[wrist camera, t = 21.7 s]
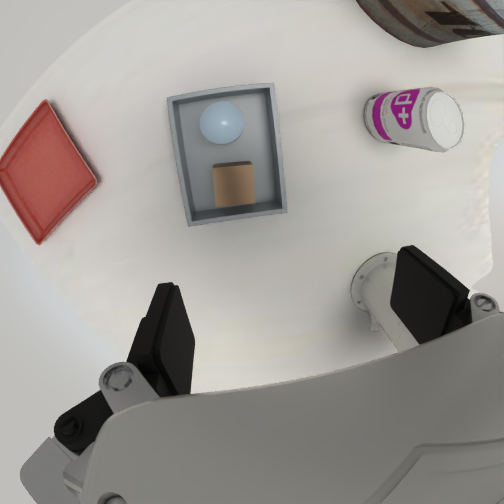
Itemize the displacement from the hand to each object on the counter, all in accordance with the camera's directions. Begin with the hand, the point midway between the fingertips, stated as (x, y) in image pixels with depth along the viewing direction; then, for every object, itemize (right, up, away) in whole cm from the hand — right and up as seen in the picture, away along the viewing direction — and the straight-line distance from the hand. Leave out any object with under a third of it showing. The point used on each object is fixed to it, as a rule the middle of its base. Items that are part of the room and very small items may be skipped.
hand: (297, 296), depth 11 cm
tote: (-5, +16, +26) cm, 31 cm away
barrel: (+25, +48, +14) cm, 56 cm away
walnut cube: (-4, +12, +27) cm, 30 cm away
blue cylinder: (-5, +19, +24) cm, 31 cm away
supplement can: (+19, +23, +25) cm, 39 cm away
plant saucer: (-36, +15, +24) cm, 46 cm away
